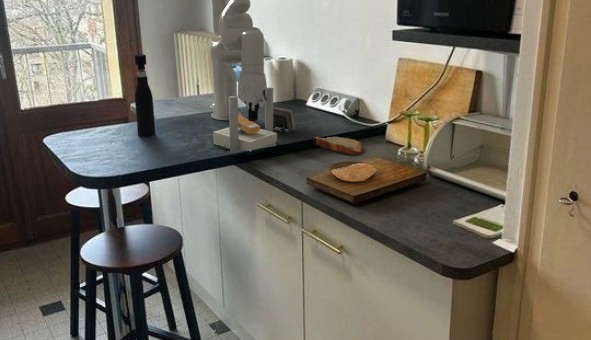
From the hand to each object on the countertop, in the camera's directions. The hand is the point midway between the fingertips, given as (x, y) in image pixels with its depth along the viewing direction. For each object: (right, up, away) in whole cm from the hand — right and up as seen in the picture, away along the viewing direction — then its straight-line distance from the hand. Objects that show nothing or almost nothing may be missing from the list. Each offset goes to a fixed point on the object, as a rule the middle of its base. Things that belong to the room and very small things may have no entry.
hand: (253, 120), depth 199 cm
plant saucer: (+33, -20, -21) cm, 43 cm away
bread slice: (+30, -10, +6) cm, 32 cm away
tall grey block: (+5, -7, +10) cm, 13 cm away
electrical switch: (+10, -2, +24) cm, 26 cm away
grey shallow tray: (-3, -9, +6) cm, 11 cm away
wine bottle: (-41, -4, +16) cm, 45 cm away
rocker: (-3, -1, +3) cm, 4 cm away
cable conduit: (-6, -12, -3) cm, 14 cm away
